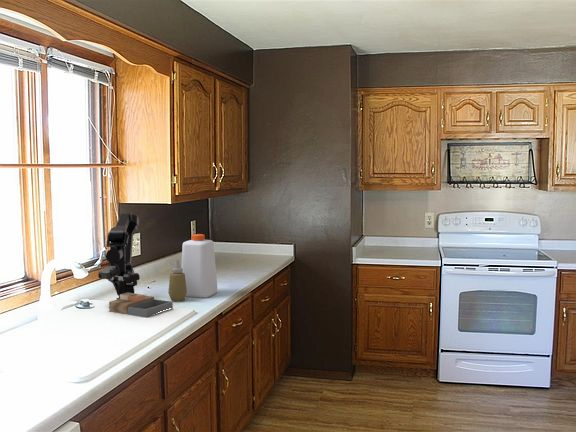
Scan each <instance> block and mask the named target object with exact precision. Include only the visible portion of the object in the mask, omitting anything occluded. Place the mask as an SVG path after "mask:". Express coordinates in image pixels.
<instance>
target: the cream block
mask: <svg viewBox="0 0 576 432" xmlns="http://www.w3.org/2000/svg"><path fill="white" fill-rule="evenodd" d="M133 294H137V292H136V293H135V292H134V293H129V292H127V293H123V294H120V299H123V300H129V295H133Z"/></svg>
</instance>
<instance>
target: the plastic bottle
mask: <svg viewBox="0 0 576 432" xmlns="http://www.w3.org/2000/svg"><path fill="white" fill-rule="evenodd" d="M205 238H206V235H205V234H203V233H202V234H201V233H197V234H195V233H193V234H192V235H191V239H190V240H186V241H184V242H183V243H182V248H181V249H182V251H181V266H180V268H183V272H182V273H184V274H185V280H186V288H187V293H186V297H185V298H194V299H206V298H210V297H212V296H213V295H215V294H217V293H218V280H217V279H218V278H217V265H216V256H215V255H216V254H215V243H214V240H212V239H211V240H210V239H205Z"/></svg>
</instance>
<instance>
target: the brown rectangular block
mask: <svg viewBox="0 0 576 432" xmlns="http://www.w3.org/2000/svg"><path fill="white" fill-rule="evenodd" d="M143 295H144V300H141V301H137V302H136V301H130V300H123V299H118V300H117V299H115V300H110V301H108V302H109V303H108V305H109V306H108V307H109V308H108V309H109V310H108V311H109V312H111V313H112V312H113V313H118V314H123V315H129V314H128V307H130V306H133V305H136V304H140V303H143V302H147V301H150V300H153V299H155V296H151V295H145V294H143Z"/></svg>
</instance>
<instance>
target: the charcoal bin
mask: <svg viewBox="0 0 576 432" xmlns="http://www.w3.org/2000/svg"><path fill="white" fill-rule="evenodd" d="M173 302H174V301H170V300H165V299H164V300H162V299H158V298H157V299H156V298H154V299H153V300H150V301H147V302H143V303H140V304H136V305H133V306H130V307H128V314H127V315H129V316H135V317H141V318H142V317H143V318H149V317H151V316H154V314H155V315H157V314H156V313H158V312H160V311H163V310H166V309H169V308H174V307H173V305H174V304H173ZM158 314H159V313H158Z"/></svg>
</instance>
